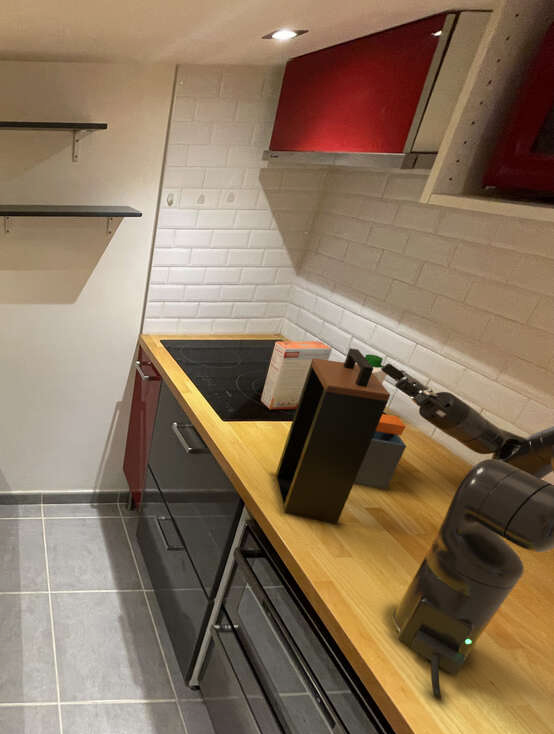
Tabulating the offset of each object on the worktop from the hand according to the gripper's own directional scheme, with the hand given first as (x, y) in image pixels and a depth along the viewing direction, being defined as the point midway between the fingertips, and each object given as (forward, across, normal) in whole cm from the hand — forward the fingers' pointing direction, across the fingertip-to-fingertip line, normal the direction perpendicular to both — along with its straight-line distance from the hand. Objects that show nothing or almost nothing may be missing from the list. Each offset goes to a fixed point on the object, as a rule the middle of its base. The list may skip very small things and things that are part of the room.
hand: (391, 374), depth 101 cm
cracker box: (-4, -28, +29) cm, 41 cm away
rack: (-1, +17, +30) cm, 35 cm away
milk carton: (-18, -26, +21) cm, 38 cm away
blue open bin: (-12, 0, +24) cm, 27 cm away
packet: (-6, 0, +13) cm, 14 cm away
